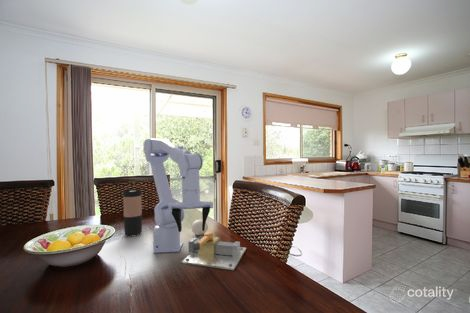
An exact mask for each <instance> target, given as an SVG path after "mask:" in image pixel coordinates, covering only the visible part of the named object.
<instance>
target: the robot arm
mask: <svg viewBox="0 0 470 313" xmlns="http://www.w3.org/2000/svg"><path fill="white" fill-rule="evenodd" d="M143 154H144V157H145V159H146V161H147V162H149V163H150V168H151V171H152V172H151V173H152V176H153V180H154V183H155V188H156V192H157V196H158V200H159V202H158V203H157V204H156V205H155V207H154V209H153V210H154V221H155V224H156V225H155V226H154V229H153V236H152V238H153V242H152V243H153V251H152V252H153V254H156V253H158V254H159V253H179V252H180V250H181V248H182V246H183V242H181V233H182V229H183V228H182V222H183V221H184V219H185V211H184V210H192V209H193V210H195V209H201V210H202V211H201V215H202V217H201V218H202V219H201V220H203V223H202V231H204V230H205V223H207V219H208V216H209V214H210V210H211V209H214V201H213V200H212V201H204V200H203V201H202V200H201V199H200V198H201V194H200V190H201V189H200V170H202V167H203V157H202V155H201V154H200V153H199V152H196V153H192V152H191V151H190V150H189V149H185V148H184V145H177V146H176V145H175V144H174V143H172V139H169V138H150V137H146V138H145V140H144V141H143ZM169 157H170V159H171V160H172V161H173V162H175V163H176V164H177V165H178V166H177V167H178V169H179V174H180V177H181V196H182V197H181V198H182V202H180V201H179V200H177V199H175V198H173V194H172V191H171V186H170V184H169V180H168V176H167V172H166V168H165V164H164V162H166V161H168V159H169ZM200 200H201V201H200Z"/></svg>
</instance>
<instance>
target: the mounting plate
mask: <svg viewBox="0 0 470 313" xmlns="http://www.w3.org/2000/svg"><path fill="white" fill-rule="evenodd" d="M246 250H247V247H242V246H240V253H239V255H238V256H237V257H232V256H231V255H222V254H215V255H214V256H212V255H203V254H198V252H195V251H194V252H192V253H189V254H188V255H187V256H186V257H185V258H184V259H183V260H181V262H180V263H181V264H183V265H190V266H198V267H204V268H205V267H206V268H212V269H213V268H214V269H220V270H221V269H222V270H230V271H235V269H236V267H237V266H238V264H239V262H240V260H241V259H242V257H243V256H244V253H245V252H246Z"/></svg>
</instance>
